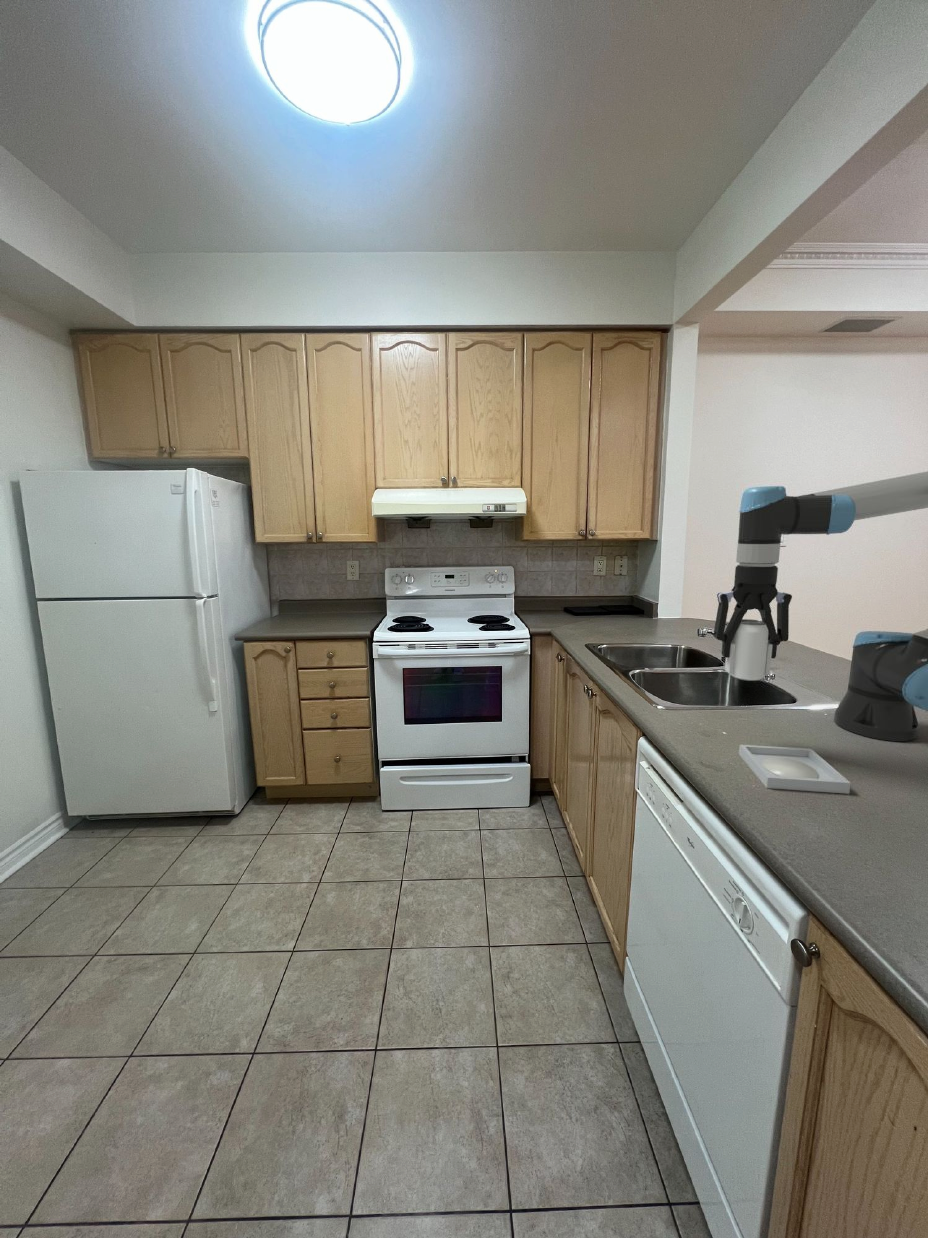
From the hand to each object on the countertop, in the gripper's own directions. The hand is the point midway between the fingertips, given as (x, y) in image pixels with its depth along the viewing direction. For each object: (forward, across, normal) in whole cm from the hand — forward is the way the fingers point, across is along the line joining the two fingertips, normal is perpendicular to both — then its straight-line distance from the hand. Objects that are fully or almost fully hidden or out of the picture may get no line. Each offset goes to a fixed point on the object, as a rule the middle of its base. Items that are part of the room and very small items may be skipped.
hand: (746, 672), depth 104 cm
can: (+1, 0, 0) cm, 1 cm away
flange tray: (+17, -5, +12) cm, 21 cm away
